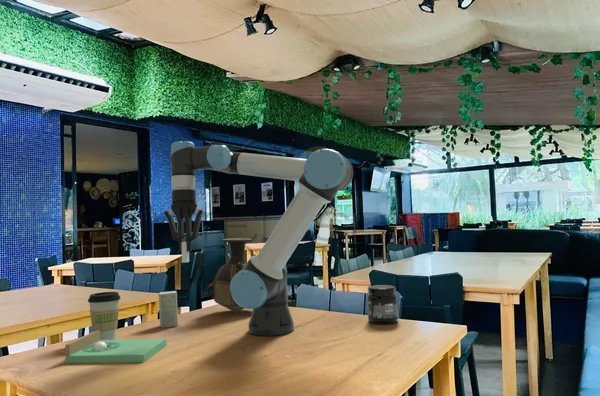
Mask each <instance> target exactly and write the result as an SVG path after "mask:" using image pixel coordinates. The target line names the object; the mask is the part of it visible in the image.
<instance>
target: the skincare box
mask: <svg viewBox="0 0 600 396" xmlns="http://www.w3.org/2000/svg"><path fill="white" fill-rule="evenodd" d="M158 308H159V309H158V310H159V327H162V328H170V327H172V328H173V327H178V326H179V316H178V292H177V290H171V291H160V292H159V293H158Z"/></svg>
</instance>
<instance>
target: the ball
mask: <svg viewBox="0 0 600 396" xmlns="http://www.w3.org/2000/svg"><path fill="white" fill-rule="evenodd" d="M106 348H107V345H106V343H104V342H97V343H96V344H95V345H94V348H93V349H94V350H101V349H106Z"/></svg>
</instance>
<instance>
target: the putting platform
mask: <svg viewBox="0 0 600 396" xmlns="http://www.w3.org/2000/svg"><path fill="white" fill-rule="evenodd" d="M97 342H104V343H106V345H107V348H106V349H101V350H94V349H93V348H94V345H95V344H96V343H97ZM166 346H167V338H148V339H147V338H142V339H137V338H136V339H115V340H100V330H96V331H94V332H93V331H92V332H90V333H87V334H85V335H83V336H81V337H79V338H77V339H74V340H72V341H70V342H68V343H66V344H65V346H64V349H65V350H64V351H65V354H64V355H65V359H64V361H65V364H100V363H101V364H103V363H104V364H108V363H109V364H110V363H112V364H113V363H119V364H120V363H124V364H125V363H145V362H146V361H147V360H149V359H150V358H151V357H153V356H154V355H155V354H157V353H158V352H160V351H161V350H162V349H164V348H165V347H166Z"/></svg>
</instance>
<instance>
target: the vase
mask: <svg viewBox="0 0 600 396" xmlns="http://www.w3.org/2000/svg"><path fill="white" fill-rule="evenodd" d="M222 242H223V243H226V242H227V243H228V245H229V247H230V258H229V261H228V262H227V263H225V264H223V265H222V266H221V267H220V268H218V270H217V272H216V274H215V277H214V279H213V281H212V282H211V283H210V284H209V285H207V287H206V292H207V295H209V296H210V297H211V298H213V300H214V302H215V303H216V304H218V305H220V306H222V307H224V308H226V309H227V310H229V311H231V312H233V313H235V314H236V313H237V314H238V313H240V312H241V311H243V310H245V308H243V307H241V306H239V305H238V304H237V303H236V302H235V301H234V300H233V298H232V296H231V291H230V284H231V280H232V278H233V277H234V276H235V275H236V274H237V273H238V272H239V271H242V270H243V269H244V267H245V265H246V264H247V262H248V261H247V260H246V258H245V247H246V244H247V243H249V242H251V243H252V242H253V238H245V237H244V238H242V237H238V238H237V237H236V238H232V237H231V238H223V239H222ZM210 288H212V292H210V291H209V289H210Z"/></svg>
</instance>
